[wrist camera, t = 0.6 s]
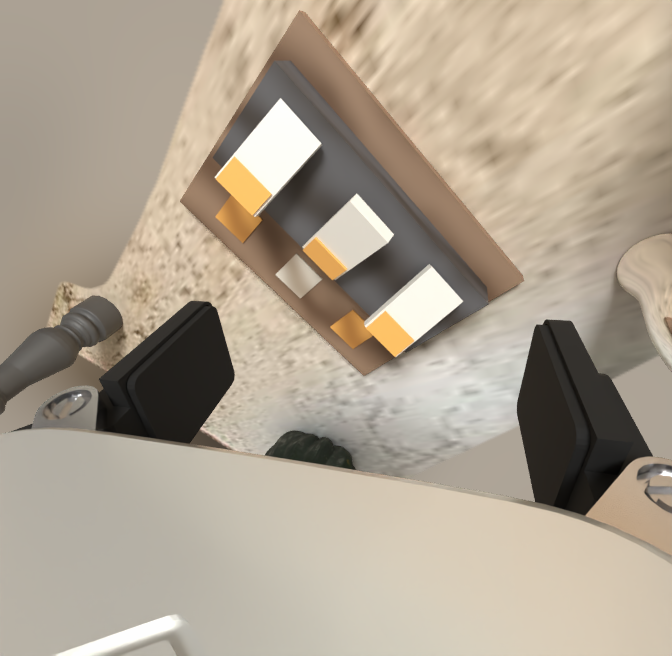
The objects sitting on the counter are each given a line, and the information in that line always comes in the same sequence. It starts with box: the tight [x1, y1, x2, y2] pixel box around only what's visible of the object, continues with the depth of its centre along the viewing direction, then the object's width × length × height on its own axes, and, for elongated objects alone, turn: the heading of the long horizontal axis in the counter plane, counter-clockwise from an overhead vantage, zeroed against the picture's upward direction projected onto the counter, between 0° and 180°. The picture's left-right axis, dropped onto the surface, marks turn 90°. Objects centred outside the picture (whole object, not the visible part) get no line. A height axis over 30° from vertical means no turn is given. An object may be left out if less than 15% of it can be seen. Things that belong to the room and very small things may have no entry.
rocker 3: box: [364, 264, 463, 357], centre depth 35 cm, size 8×4×1 cm, turn 137°
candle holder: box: [0, 296, 123, 414], centre depth 49 cm, size 6×6×25 cm
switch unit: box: [180, 10, 524, 375], centre depth 38 cm, size 22×30×6 cm
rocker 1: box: [215, 98, 322, 217], centre depth 31 cm, size 8×4×2 cm, turn 137°
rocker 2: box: [303, 194, 394, 280], centre depth 33 cm, size 8×4×2 cm, turn 136°
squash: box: [265, 431, 356, 470], centre depth 58 cm, size 14×15×15 cm
